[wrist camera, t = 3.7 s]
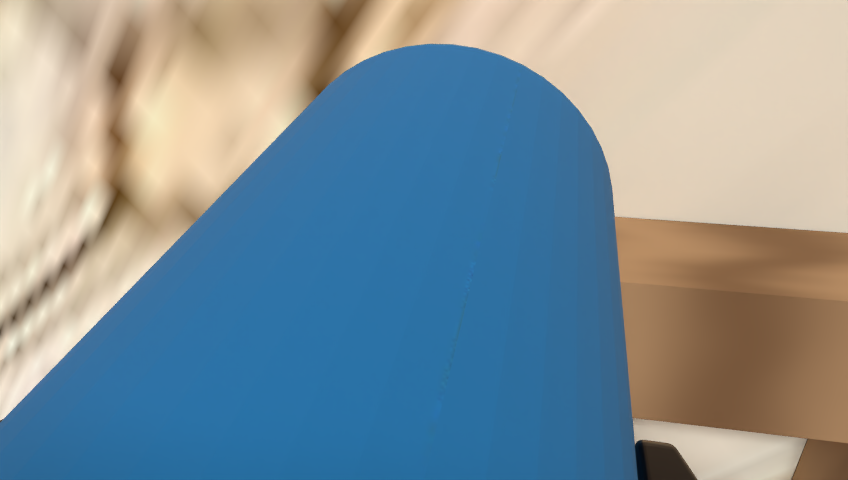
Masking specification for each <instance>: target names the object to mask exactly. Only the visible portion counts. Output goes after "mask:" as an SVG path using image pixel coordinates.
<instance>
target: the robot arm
mask: <svg viewBox="0 0 848 480" xmlns="http://www.w3.org/2000/svg"><path fill="white" fill-rule="evenodd" d="M2 420H3V419H2ZM2 420H1V421H2ZM1 421H0V422H1ZM635 453H636V464H637V475H638V480H697V478H696V477H695V475H694V474H693V472H692V471H691V469H690V468H689V466H688V465H687V463H686V462H685V460H684V459H683V458H682V456H681V455H680V453H679V452H678V450H677V449H676V448H675V447H674V446H673V445H671V444H668V443H662V442H655V441H648V440H640V441H638V442H637V443H636V444H635Z"/></svg>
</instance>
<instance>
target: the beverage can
mask: <svg viewBox="0 0 848 480" xmlns="http://www.w3.org/2000/svg"><path fill="white" fill-rule="evenodd" d="M0 480H638V475H637V464H636V453H635V441H634V430H633V419H632V408H631V396H630V385H629V374H628V362H627V351H626V340H625V329H624V317H623V306H622V295H621V284H620V272H619V261H618V250H617V239H616V227H615V216H614V205H613V193H612V185H611V180H610V174H609V169H608V165H607V163H606V160H605V157H604V154H603V151H602V148H601V146H600V144H599V142H598V140H597V138H596V136H595V134H594V132H593V130H592V128H591V127H590V125H589V124H588V123H587V121H586V120H585V118H584V117H583V116H582V114H581V113H580V111H579V110H578V109H577V108H576V107H575V106H574V105H573V103H572V102H571V101H570V100H569V99H568V98H567V97H566V96H565V95H564V94H563V93H562V92H561V91H560V90H558V89H557V88H556V87H555V86H554V85H552V84H551V83H550V82H549V81H547V80H546V79H545V78H544V77H542V76H540V75H539V74H537V73H536V72H534V71H532V70H531V69H529V68H527V67H526V66H524V65H522V64H520V63H518V62H515V61H513V60H511V59H509V58H506V57H504V56H502V55H499V54H496V53H492V52H489V51H485V50H482V49H479V48H473V47H467V46H461V45H454V44H424V45H415V46H407V47H402V48H398V49H394V50H391V51H387V52H383V53H381V54H378V55H376V56H373V57H371V58H369V59H366V60H364V61H362V62H360V63H359V64H357V65H355V66H354V67H352V68H350V69H349V70H347V71H345V72H344V73H343V74H341V75H340V76H339V77H338V78H337V79H335V80H334V81H333V82H332V83H330V84H329V85H328V86H327V87H326V88H325V89H324V90H323V91H322V92H321V93H320V94H319V95H318V96H317V98H316V99H315V100H314V101H313V102H312V103H311V104H310V105H309V106H308V107H307V108H306V109H305V110H304V111H303V112H302V113H301V114H300V115H299V116H298V117H297V118H296V119H295V120H294V121H293V122H292V123H291V124H290V125H289V126H288V127H287V128H286V129H285V130H284V131H283V132H282V133H281V135H280V136H279V137H278V138H277V139H276V140H275V141H274V142H273V143H272V144H271V145H270V146H269V147H268V148H267V149H266V150H265V151H264V152H263V153H262V154H261V155H260V156H259V157H258V158H257V159H256V160H255V161H254V162H253V163H252V164H251V165H250V166H249V167H248V168H247V169H246V171H245V172H244V173H243V174H242V175H241V176H240V177H239V178H238V179H237V180H236V181H235V182H234V183H233V184H232V185H231V186H230V187H229V188H228V189H227V190H226V191H225V192H224V193H223V194H222V195H221V196H220V197H219V198H218V199H217V200H216V201H215V202H214V203H213V204H212V205H211V206H210V208H209V209H208V210H207V211H206V212H205V213H204V214H203V215H202V216H201V217H200V218H199V219H198V220H197V221H196V222H195V223H194V224H193V225H192V226H191V227H190V228H189V229H188V230H187V231H186V232H185V233H184V234H183V235H182V236H181V237H180V238H179V239H178V240H177V241H176V242H175V243H174V245H173V246H172V247H171V248H170V249H169V250H168V251H167V252H166V253H165V254H164V255H163V256H162V257H161V258H160V259H159V260H158V261H157V262H156V263H155V264H154V265H153V266H152V267H151V268H150V269H149V270H148V271H147V272H146V273H145V274H144V275H143V276H142V277H141V278H140V279H139V281H138V282H137V283H136V284H135V285H134V286H133V287H132V288H131V289H130V290H129V291H128V292H127V293H126V294H125V295H124V296H123V297H122V298H121V299H120V300H119V301H118V302H117V303H116V304H115V305H114V306H113V307H112V308H111V309H110V310H109V311H108V312H107V313H106V314H105V315H104V316H103V318H102V319H101V320H100V321H99V322H98V323H97V324H96V325H95V326H94V327H93V328H92V329H91V330H90V331H89V332H88V333H87V334H86V335H85V336H84V337H83V338H82V339H81V340H80V341H79V342H78V343H77V344H76V345H75V346H74V347H73V348H72V349H71V350H70V351H69V352H68V354H67V355H66V356H65V357H64V358H63V359H62V360H61V361H60V362H59V363H58V364H57V365H56V366H55V367H54V368H53V369H52V370H51V371H50V372H49V373H48V374H47V375H46V376H45V377H44V378H43V379H42V380H41V381H40V382H39V383H38V384H37V385H36V386H35V387H34V388H33V389H32V391H31V392H30V393H29V394H28V395H27V396H26V397H25V398H24V399H23V400H22V401H21V402H20V403H19V404H18V405H17V406H16V407H15V408H14V409H13V410H12V411H11V412H10V413H9V414H8V415H7V416H6V417H5V418H4V419H3V420H2V421H1V422H0Z"/></svg>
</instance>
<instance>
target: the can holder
mask: <svg viewBox="0 0 848 480" xmlns="http://www.w3.org/2000/svg"><path fill="white" fill-rule="evenodd" d="M615 227H616V239H617V250H618V261H619V272H620V284H621V295H622V306H623V317H624V329H625V340H626V351H627V362H628V374H629V385H630V396H631V408H632V418H640V419H648V420H656V421H665V422H673V423H682V424H690V425H698V426H707V427H715V428H724V429H732V430H740V431H749V432H757V433H766V434H774V435H782V436H791V437H799V438H808V440H807V443H806V445H805V448H804V450H803V453H802V456H801V458H800V461H799V463H798V466H797V468H796V471H795V473H794V476H793V478H792V480H848V233H837V232H823V231H809V230H794V229H780V228H766V227H752V226H737V225H723V224H709V223H694V222H680V221H666V220H651V219H637V218H623V217H615Z"/></svg>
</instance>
